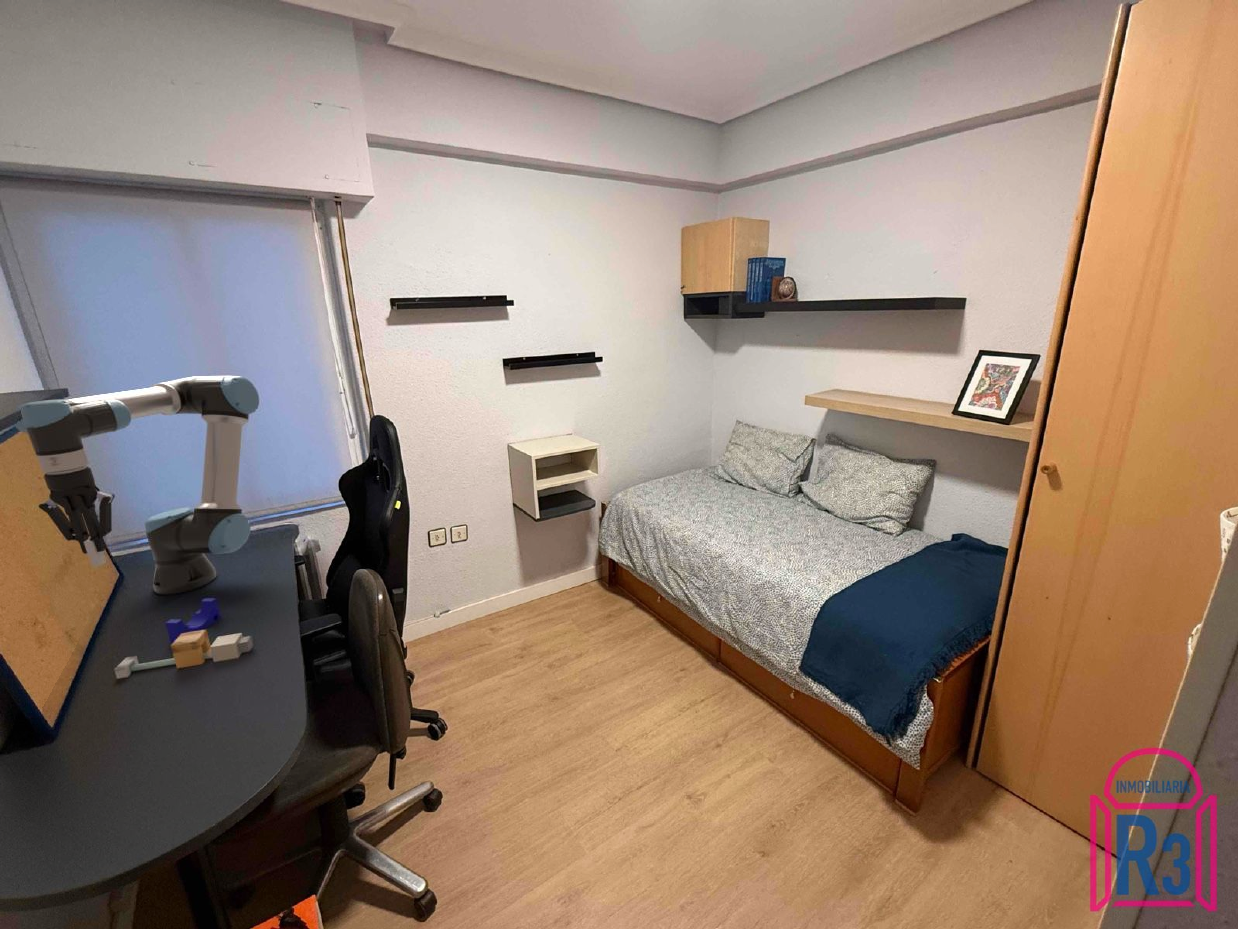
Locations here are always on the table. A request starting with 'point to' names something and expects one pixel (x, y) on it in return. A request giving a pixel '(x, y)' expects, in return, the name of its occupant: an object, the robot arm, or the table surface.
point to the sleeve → (190, 648)
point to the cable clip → (195, 619)
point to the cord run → (218, 651)
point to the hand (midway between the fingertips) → (99, 564)
